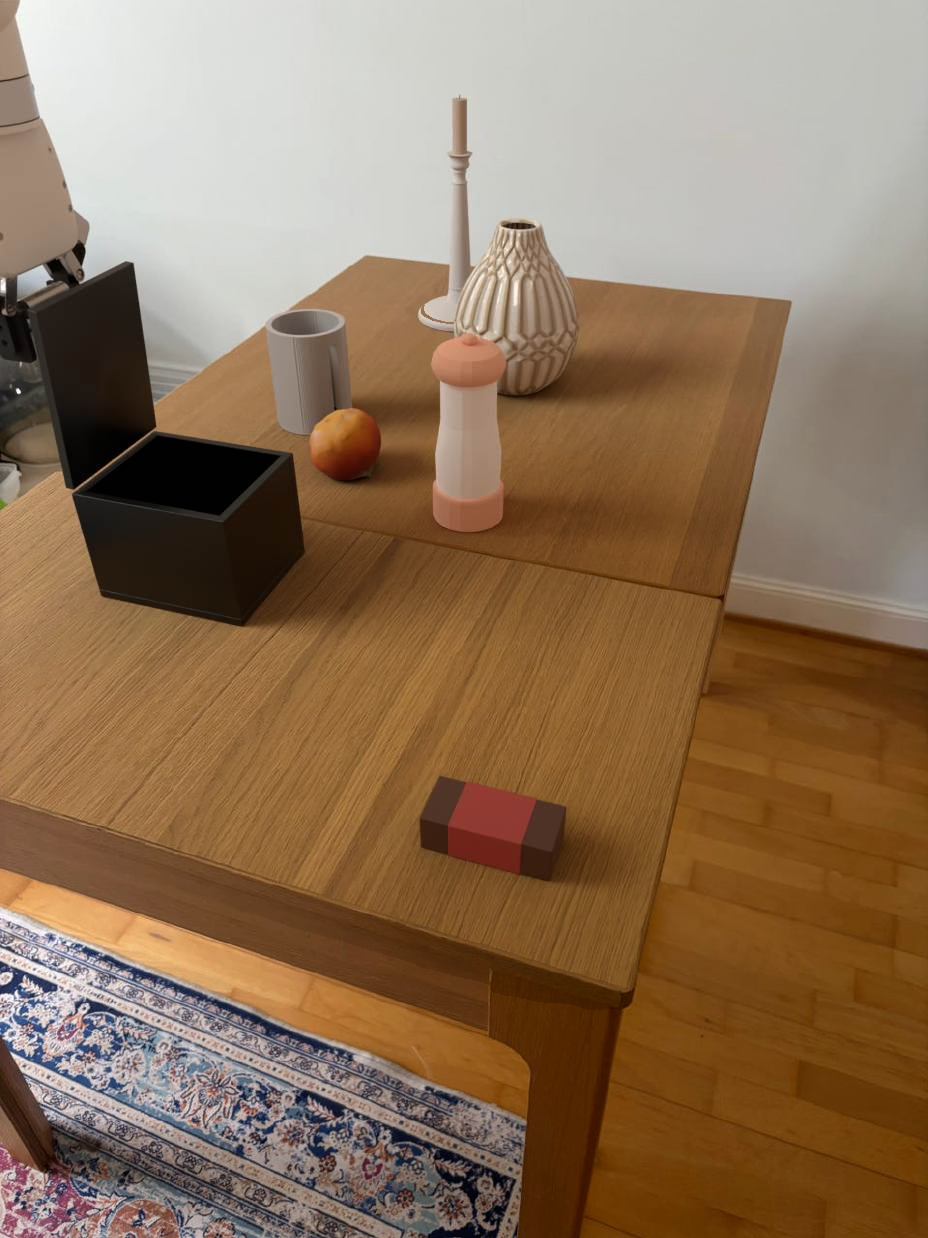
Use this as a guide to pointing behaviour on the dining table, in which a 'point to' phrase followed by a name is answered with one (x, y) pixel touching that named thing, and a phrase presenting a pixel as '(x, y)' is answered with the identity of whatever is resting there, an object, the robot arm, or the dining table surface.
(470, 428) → the salt shaker
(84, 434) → the black lid
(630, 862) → the dining table surface
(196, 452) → the trash bin
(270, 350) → the cup
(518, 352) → the vase
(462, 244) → the candlestick
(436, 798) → the chocolate bar
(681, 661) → the dining table surface
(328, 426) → the fruit
